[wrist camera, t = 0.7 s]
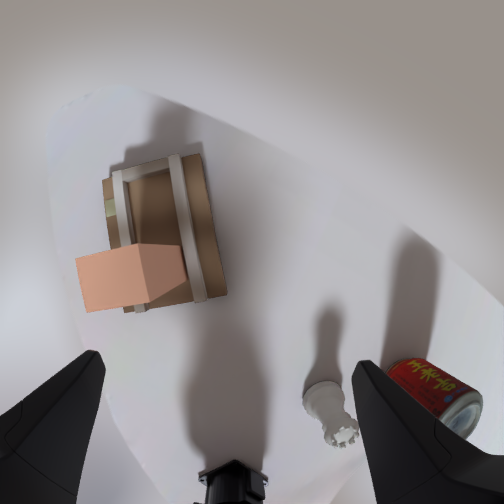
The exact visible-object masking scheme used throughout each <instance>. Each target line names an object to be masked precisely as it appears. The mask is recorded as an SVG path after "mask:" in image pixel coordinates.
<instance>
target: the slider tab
mask: <svg viewBox="0 0 504 504" xmlns="http://www.w3.org/2000/svg"><path fill="white" fill-rule="evenodd" d="M75 260H76V266H77V271H78V276H79V281H80V286H81V291H82V295H83V300H84V304H85V308H86V312H94V311H100V310H107V309H113V308H119V307H125V306H131V305H137V304H143V303H149V302H151V301H153V300H155V299H156V298H158V297H160V296H161V295H163V294H165V293H166V292H168V291H170V290H172V289H173V288H175V287H177V286H178V285H180V284H182V283H183V282H185V281H187V280H188V274H187V269H186V265H185V260H184V255H183V250H182V246H176V245H158V244H140V243H137V244H133V245H129V246H124V247H120V248H116V249H112V250H108V251H104V252H100V253H96V254H92V255H88V256H84V257H80V258H76V259H75Z"/></svg>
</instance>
